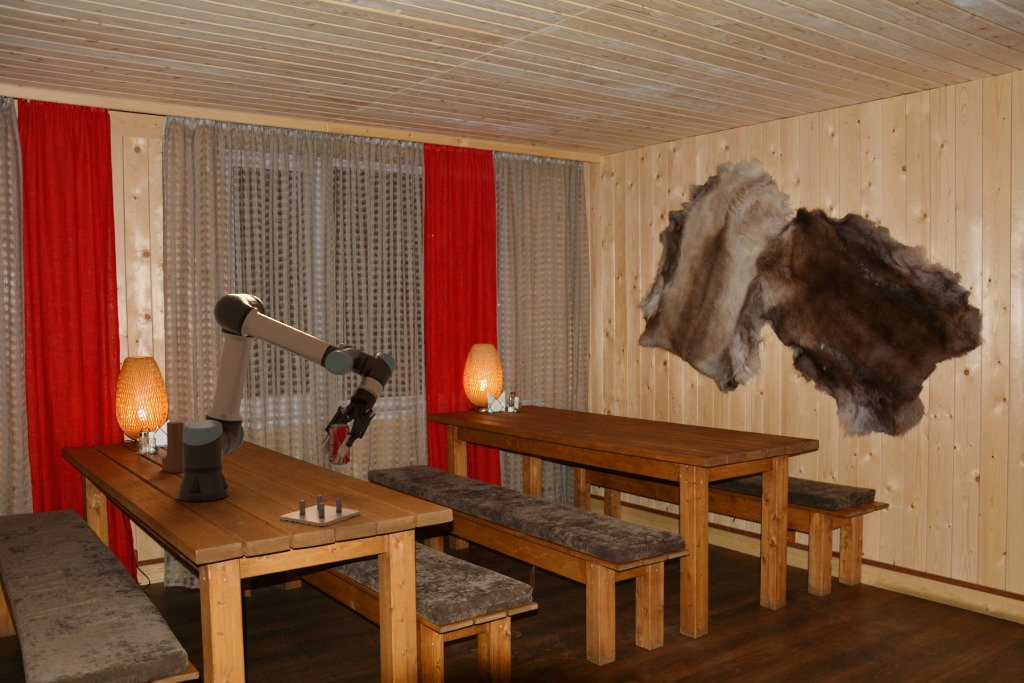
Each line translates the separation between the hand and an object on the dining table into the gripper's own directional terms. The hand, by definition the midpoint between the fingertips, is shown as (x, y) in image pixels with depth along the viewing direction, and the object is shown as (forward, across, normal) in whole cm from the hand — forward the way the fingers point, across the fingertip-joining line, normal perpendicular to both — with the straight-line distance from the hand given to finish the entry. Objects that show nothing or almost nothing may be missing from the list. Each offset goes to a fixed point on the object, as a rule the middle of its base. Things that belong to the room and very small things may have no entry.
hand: (331, 453), depth 259 cm
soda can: (0, 0, -5) cm, 5 cm away
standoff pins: (+20, -7, -2) cm, 21 cm away
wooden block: (+4, +85, -19) cm, 87 cm away
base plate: (+20, -7, -2) cm, 21 cm away
